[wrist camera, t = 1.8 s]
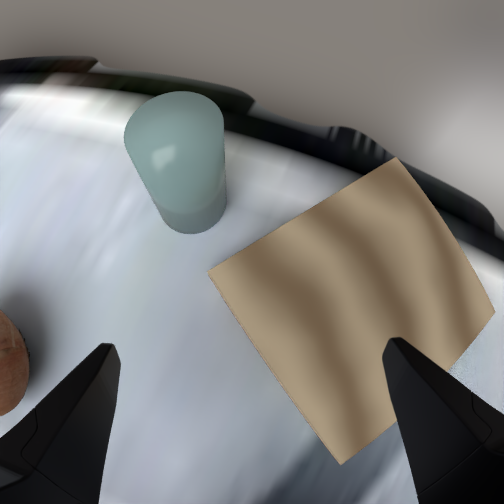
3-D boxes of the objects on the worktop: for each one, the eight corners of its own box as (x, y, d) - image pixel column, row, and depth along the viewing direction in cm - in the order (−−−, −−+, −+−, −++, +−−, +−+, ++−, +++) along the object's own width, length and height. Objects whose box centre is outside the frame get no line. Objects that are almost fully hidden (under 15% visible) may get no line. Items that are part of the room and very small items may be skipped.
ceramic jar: (179, 247, 24) (147, 188, 15) (148, 193, 25) (111, 120, 16) (239, 211, 25) (243, 137, 16) (204, 161, 26) (194, 79, 17)
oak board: (334, 458, 20) (340, 464, 19) (208, 275, 24) (207, 271, 22) (485, 313, 24) (495, 311, 23) (389, 164, 28) (396, 156, 26)
